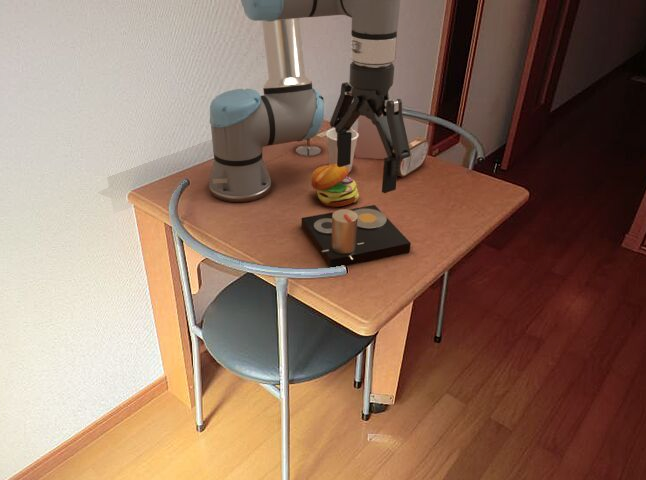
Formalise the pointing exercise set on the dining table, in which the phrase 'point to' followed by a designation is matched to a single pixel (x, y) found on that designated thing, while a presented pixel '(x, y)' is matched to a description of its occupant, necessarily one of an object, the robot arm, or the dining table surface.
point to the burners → (365, 221)
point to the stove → (358, 242)
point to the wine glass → (308, 147)
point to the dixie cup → (334, 150)
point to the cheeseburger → (334, 185)
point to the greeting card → (369, 140)
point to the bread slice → (414, 156)
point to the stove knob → (344, 231)
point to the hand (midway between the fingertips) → (365, 177)
